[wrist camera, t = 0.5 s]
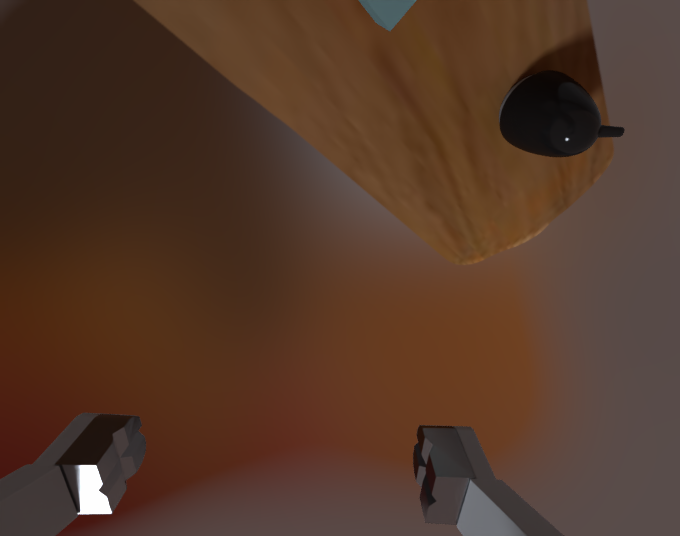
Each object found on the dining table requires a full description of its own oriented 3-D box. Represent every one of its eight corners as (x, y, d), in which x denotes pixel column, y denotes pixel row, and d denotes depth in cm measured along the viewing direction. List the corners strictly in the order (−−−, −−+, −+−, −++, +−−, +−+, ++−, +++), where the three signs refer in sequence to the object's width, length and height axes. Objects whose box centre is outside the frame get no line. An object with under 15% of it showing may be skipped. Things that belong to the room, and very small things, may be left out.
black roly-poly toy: (545, 134, 54) (610, 176, 43) (482, 140, 54) (530, 183, 43) (570, 61, 48) (654, 88, 36) (498, 68, 47) (560, 96, 36)
